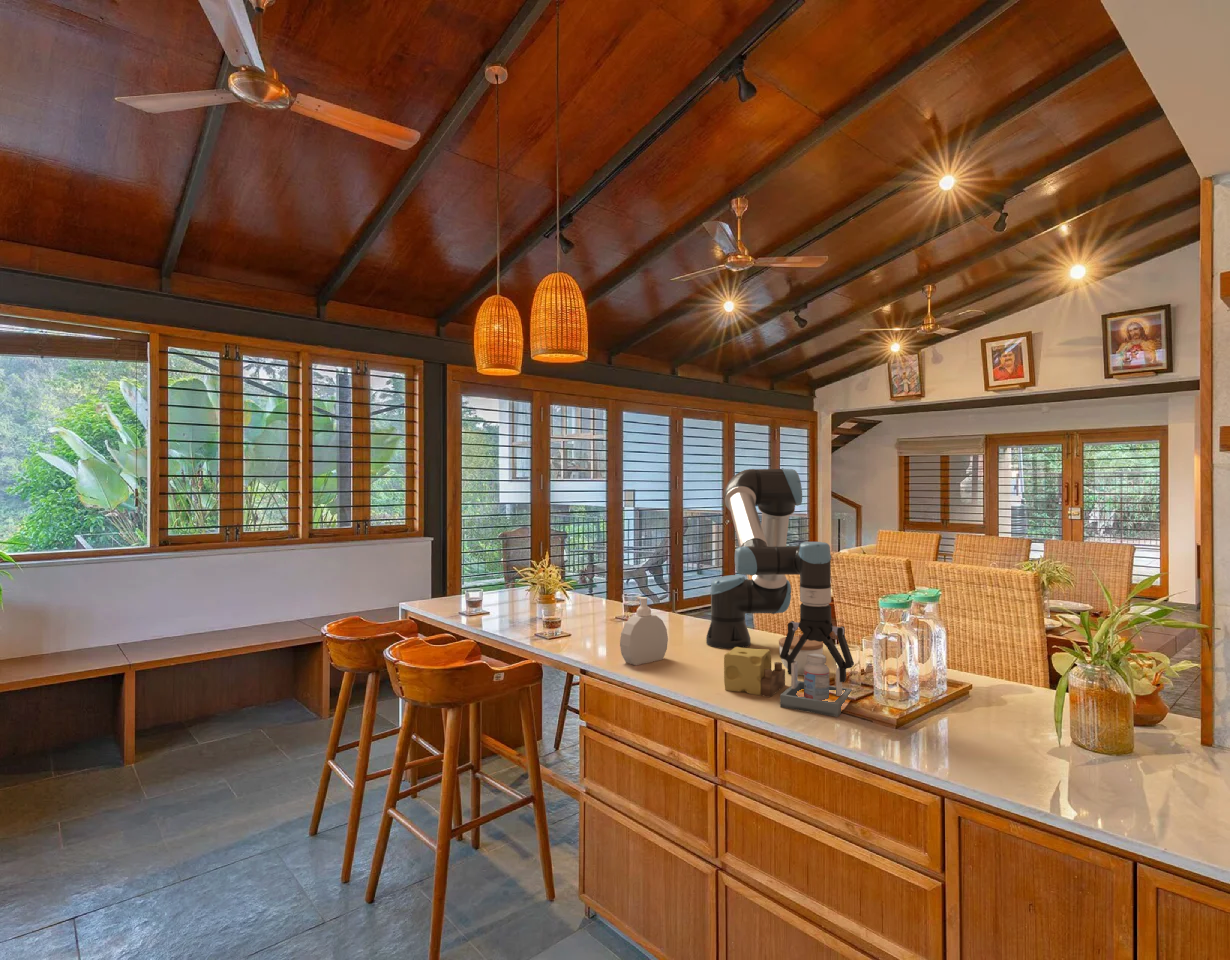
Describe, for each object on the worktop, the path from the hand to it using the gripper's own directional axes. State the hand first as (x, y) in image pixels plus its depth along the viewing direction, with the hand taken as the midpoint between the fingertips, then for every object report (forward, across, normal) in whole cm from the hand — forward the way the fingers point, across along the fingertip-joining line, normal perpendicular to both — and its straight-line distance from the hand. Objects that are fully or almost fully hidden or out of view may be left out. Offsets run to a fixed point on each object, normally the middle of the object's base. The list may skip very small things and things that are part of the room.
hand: (816, 690), depth 169 cm
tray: (+3, 0, 0) cm, 3 cm away
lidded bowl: (+4, -12, +26) cm, 29 cm away
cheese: (+4, -20, +4) cm, 21 cm away
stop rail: (+3, -13, +5) cm, 14 cm away
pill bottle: (+3, 0, 0) cm, 3 cm away
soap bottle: (+4, -58, +13) cm, 60 cm away
